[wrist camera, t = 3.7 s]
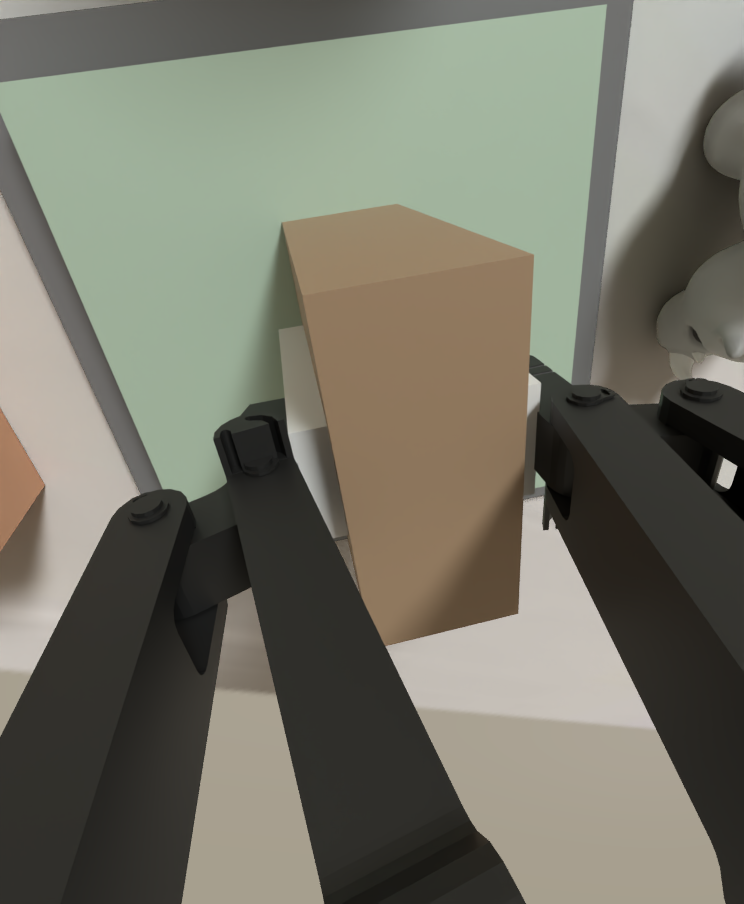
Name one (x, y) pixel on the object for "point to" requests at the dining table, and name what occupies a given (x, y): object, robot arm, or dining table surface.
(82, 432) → the dining table surface
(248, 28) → the mat
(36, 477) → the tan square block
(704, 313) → the round bodied animal figurine
